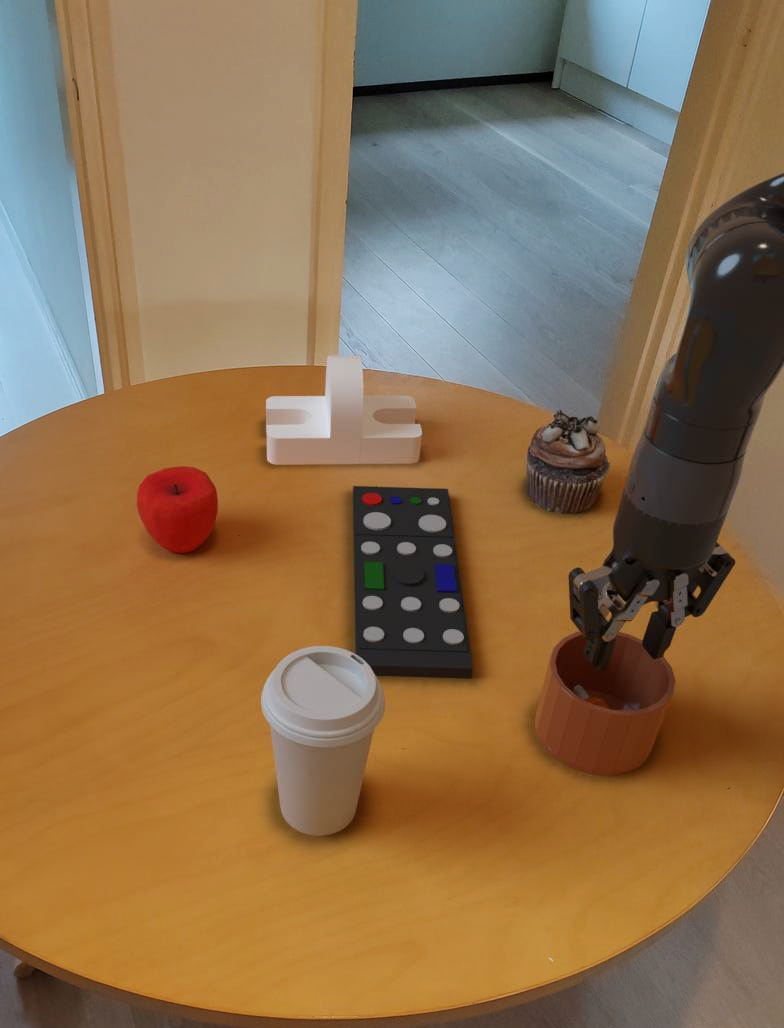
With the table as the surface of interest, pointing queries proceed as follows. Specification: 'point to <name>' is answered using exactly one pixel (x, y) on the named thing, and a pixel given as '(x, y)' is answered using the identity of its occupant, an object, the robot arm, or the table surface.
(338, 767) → the coffee cup
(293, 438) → the bracket
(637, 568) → the robot arm
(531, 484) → the cupcake
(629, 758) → the utensil cup
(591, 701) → the orange double-bulb handle
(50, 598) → the table surface
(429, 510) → the remote control
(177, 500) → the apple
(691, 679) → the table surface
